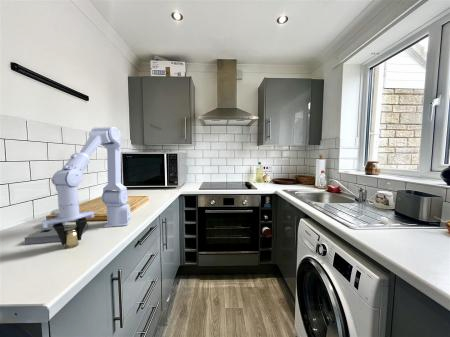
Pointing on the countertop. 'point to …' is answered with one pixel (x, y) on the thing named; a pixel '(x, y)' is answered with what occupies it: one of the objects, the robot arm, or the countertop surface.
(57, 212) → the showerhead
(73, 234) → the pipe stub
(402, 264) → the countertop surface
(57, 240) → the fitting plate
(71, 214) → the robot arm
